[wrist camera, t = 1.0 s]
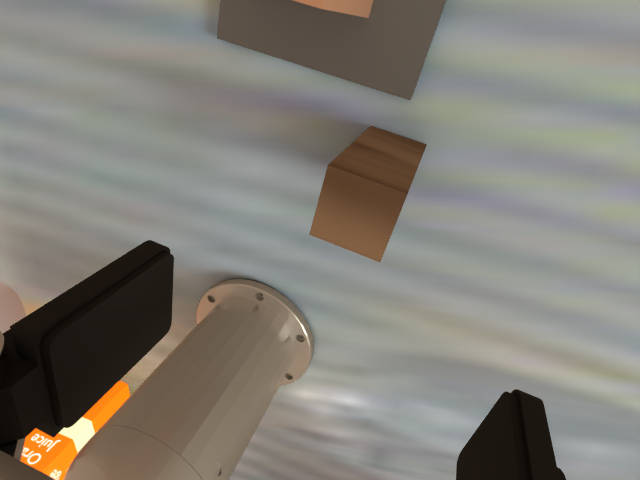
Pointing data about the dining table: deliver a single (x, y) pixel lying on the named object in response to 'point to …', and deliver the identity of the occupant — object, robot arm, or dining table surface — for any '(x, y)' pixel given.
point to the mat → (339, 38)
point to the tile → (342, 6)
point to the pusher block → (366, 192)
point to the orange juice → (71, 436)
